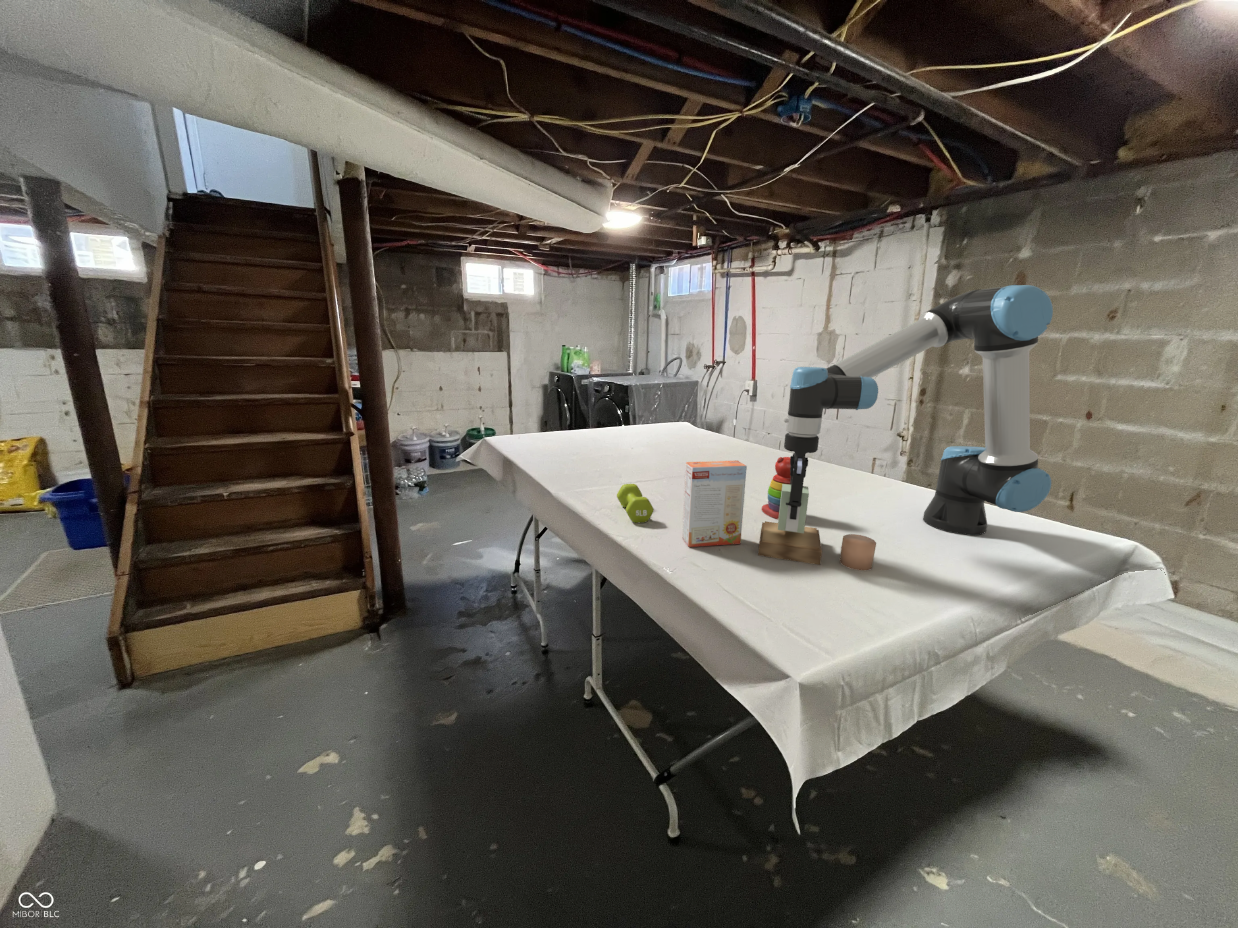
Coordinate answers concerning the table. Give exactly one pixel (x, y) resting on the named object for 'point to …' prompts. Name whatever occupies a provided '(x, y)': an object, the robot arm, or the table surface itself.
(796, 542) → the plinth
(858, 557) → the peach rounded cylinder
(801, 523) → the sage block
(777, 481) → the stacking bear
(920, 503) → the table surface
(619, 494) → the dumbbell
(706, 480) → the cracker box
